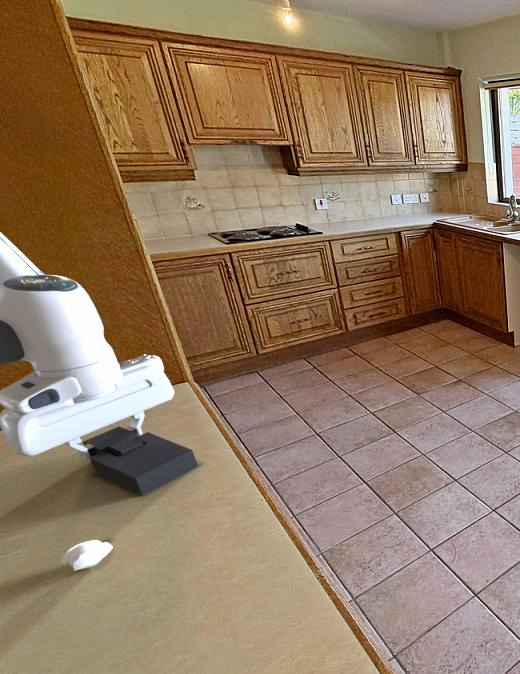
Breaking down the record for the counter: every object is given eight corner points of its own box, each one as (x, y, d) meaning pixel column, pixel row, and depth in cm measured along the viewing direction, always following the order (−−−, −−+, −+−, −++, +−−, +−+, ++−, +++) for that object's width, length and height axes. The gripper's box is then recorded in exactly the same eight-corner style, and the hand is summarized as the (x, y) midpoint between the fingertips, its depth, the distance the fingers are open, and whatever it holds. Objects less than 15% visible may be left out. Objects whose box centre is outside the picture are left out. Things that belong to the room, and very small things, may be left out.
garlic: (70, 584, 60) (119, 561, 64) (63, 565, 59) (113, 542, 62) (58, 563, 62) (106, 542, 66) (51, 545, 61) (100, 524, 65)
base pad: (97, 475, 78) (89, 457, 77) (154, 448, 85) (147, 431, 83) (142, 496, 74) (135, 478, 73) (198, 466, 81) (192, 449, 80)
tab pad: (90, 458, 81) (82, 441, 79) (126, 442, 85) (119, 426, 84) (120, 472, 78) (112, 454, 77) (156, 454, 82) (149, 438, 81)
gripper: (146, 347, 86) (170, 411, 91) (-22, 400, 68) (20, 476, 74) (168, 354, 84) (192, 419, 89) (1, 410, 66) (43, 487, 72)
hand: (113, 445), depth 81 cm, fingers closed on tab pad, 5 cm apart
